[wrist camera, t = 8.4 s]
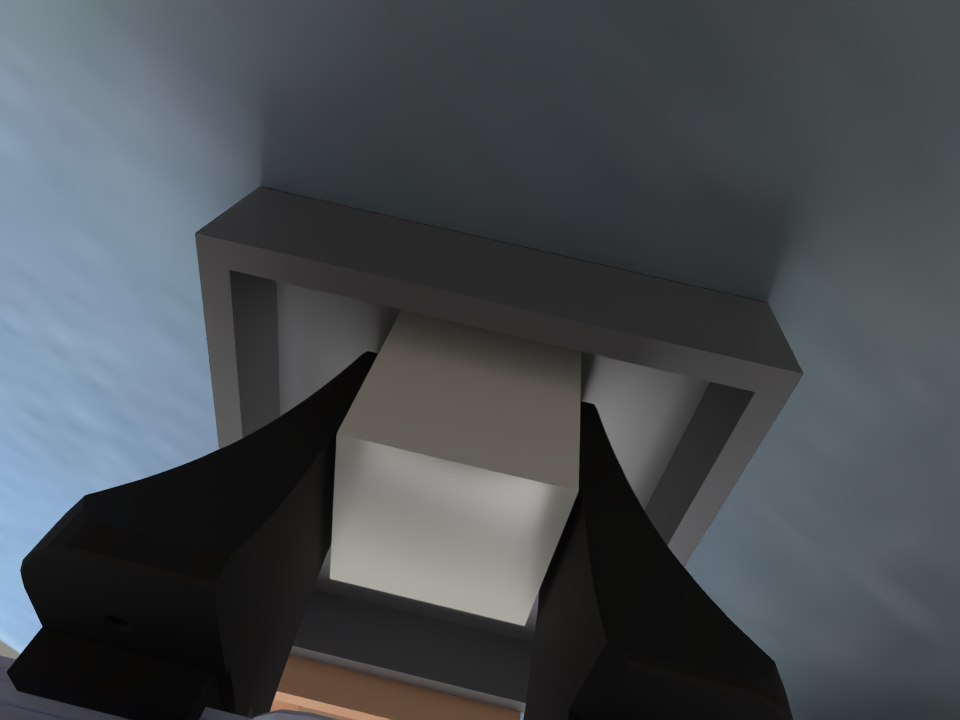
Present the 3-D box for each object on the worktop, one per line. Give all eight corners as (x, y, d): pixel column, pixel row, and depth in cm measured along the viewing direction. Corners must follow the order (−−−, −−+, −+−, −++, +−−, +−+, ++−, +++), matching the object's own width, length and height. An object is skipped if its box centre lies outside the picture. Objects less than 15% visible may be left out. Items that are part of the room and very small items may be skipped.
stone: (582, 341, 13) (578, 491, 10) (539, 466, 16) (524, 626, 12) (406, 300, 13) (337, 433, 10) (390, 431, 16) (329, 578, 12)
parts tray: (767, 303, 13) (803, 374, 11) (584, 648, 21) (584, 727, 19) (259, 186, 13) (195, 233, 11) (275, 573, 21) (240, 642, 19)
